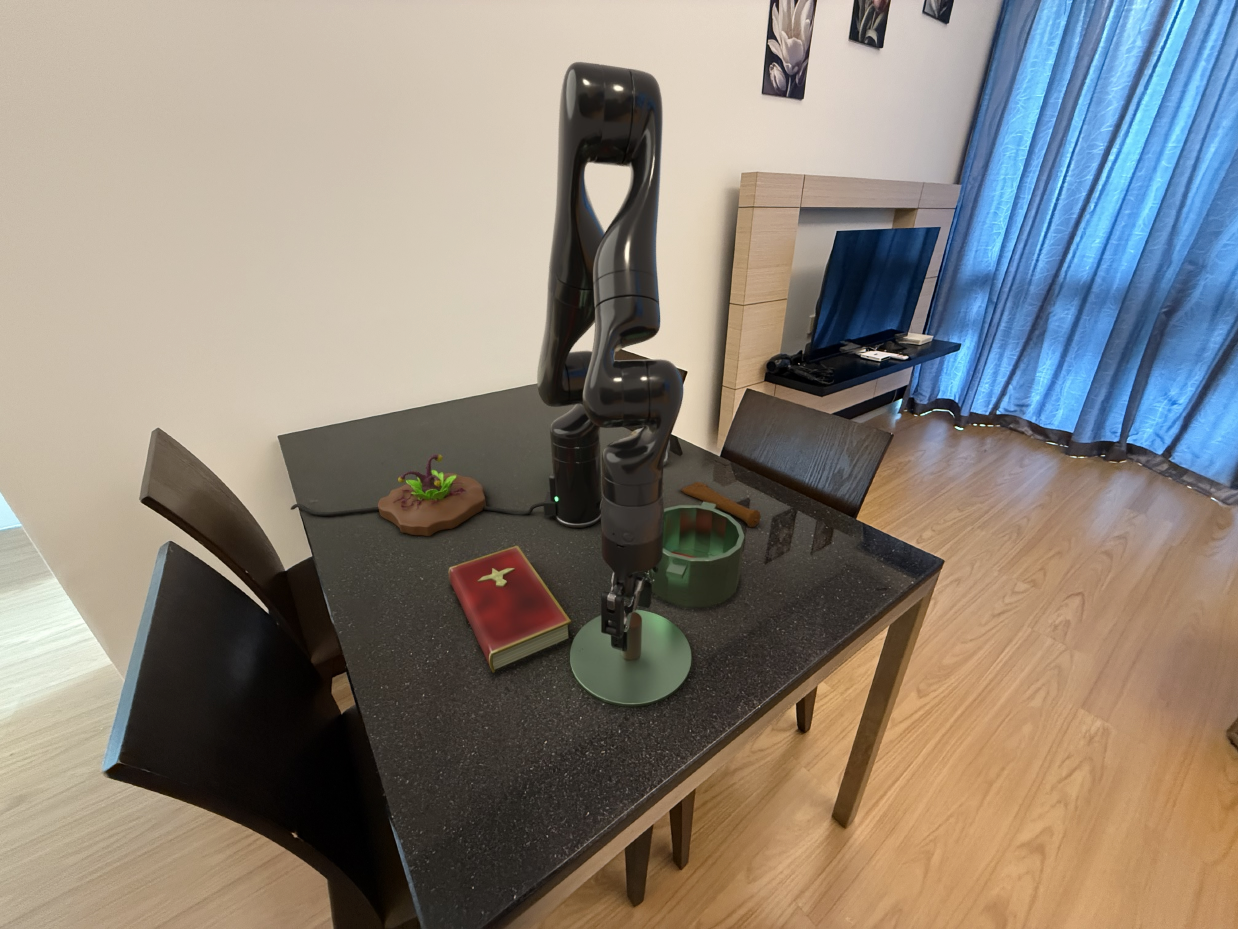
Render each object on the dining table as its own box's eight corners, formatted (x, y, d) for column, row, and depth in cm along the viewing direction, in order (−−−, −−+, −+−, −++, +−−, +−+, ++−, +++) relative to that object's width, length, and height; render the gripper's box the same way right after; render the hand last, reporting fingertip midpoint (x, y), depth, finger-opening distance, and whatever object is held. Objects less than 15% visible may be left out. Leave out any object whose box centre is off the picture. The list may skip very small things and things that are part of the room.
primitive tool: (680, 491, 114) (681, 477, 113) (698, 483, 117) (699, 469, 116) (749, 531, 101) (751, 516, 99) (767, 521, 104) (770, 506, 102)
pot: (624, 605, 83) (624, 556, 79) (665, 534, 100) (667, 490, 96) (722, 633, 78) (728, 582, 73) (748, 553, 95) (754, 508, 90)
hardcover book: (491, 676, 71) (488, 653, 69) (450, 587, 87) (446, 566, 85) (572, 641, 76) (570, 619, 74) (519, 563, 92) (517, 544, 90)
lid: (547, 685, 70) (544, 645, 66) (600, 603, 83) (599, 567, 80) (669, 729, 64) (671, 687, 60) (704, 633, 77) (708, 595, 74)
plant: (504, 505, 110) (498, 456, 105) (417, 546, 97) (405, 493, 92) (452, 474, 122) (445, 429, 117) (369, 507, 109) (356, 459, 104)
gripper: (625, 491, 70) (625, 586, 78) (577, 549, 59) (583, 655, 66) (679, 501, 68) (674, 599, 75) (641, 565, 56) (639, 674, 63)
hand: (632, 625), depth 71 cm, fingers open, 8 cm apart
